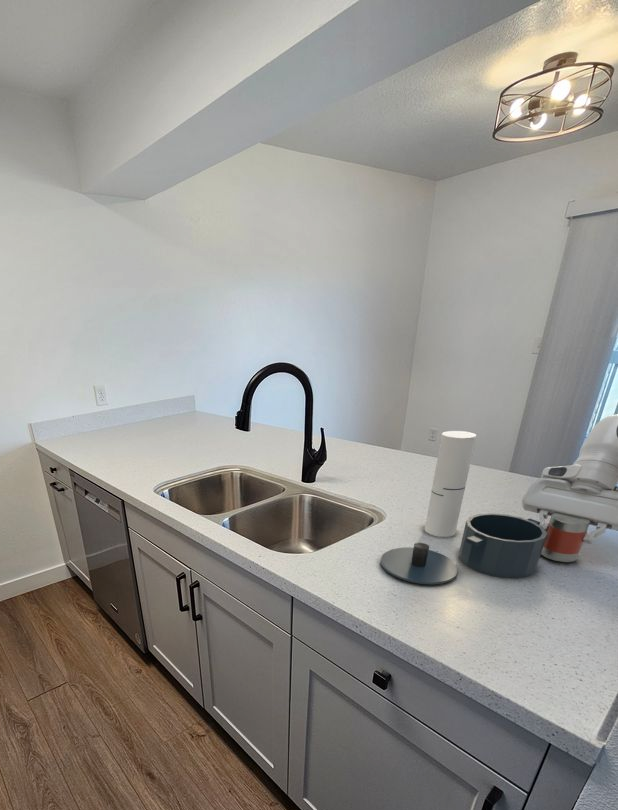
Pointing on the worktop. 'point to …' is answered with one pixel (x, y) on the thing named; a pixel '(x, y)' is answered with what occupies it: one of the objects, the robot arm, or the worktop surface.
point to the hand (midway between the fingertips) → (563, 536)
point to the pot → (502, 545)
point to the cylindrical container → (449, 482)
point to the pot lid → (419, 565)
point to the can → (564, 537)
